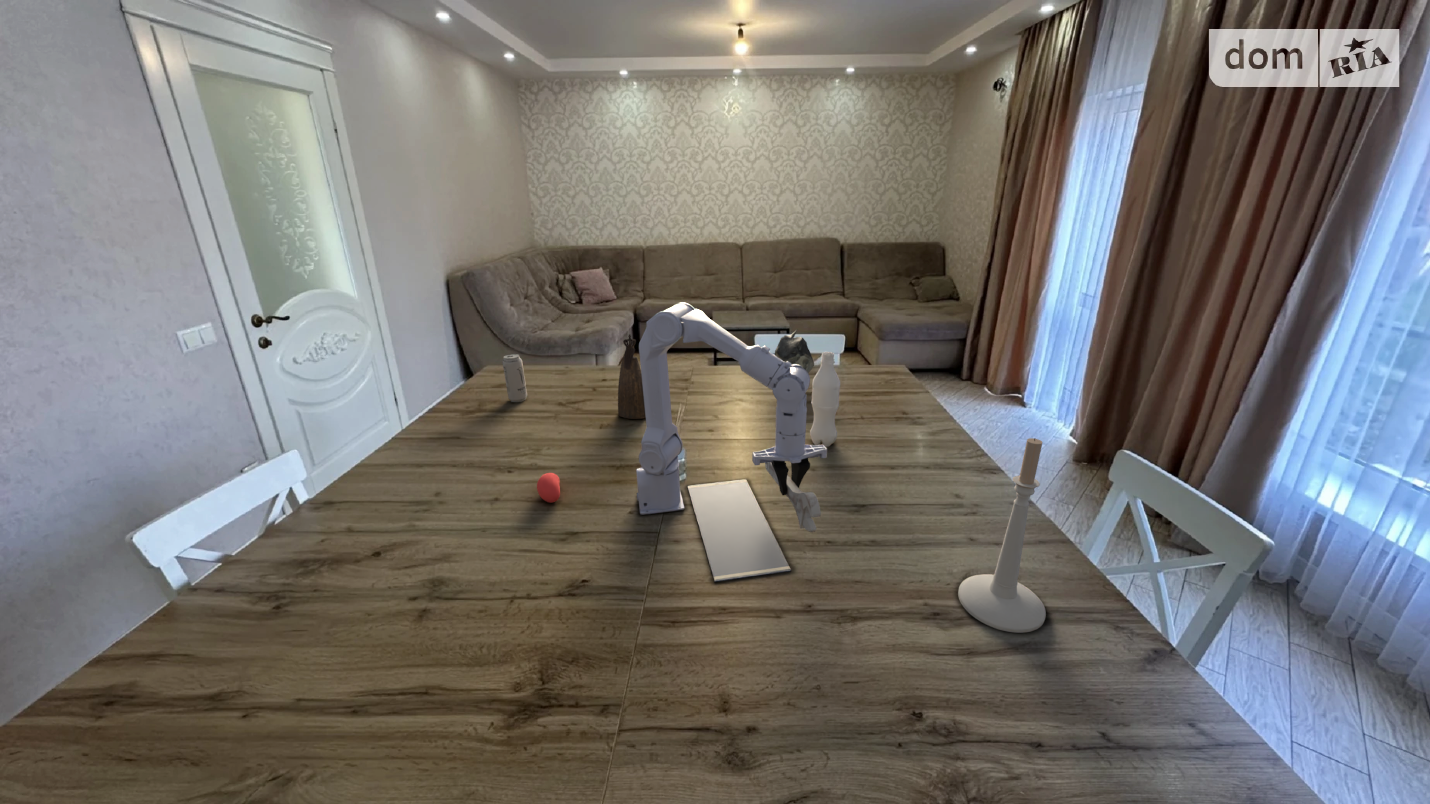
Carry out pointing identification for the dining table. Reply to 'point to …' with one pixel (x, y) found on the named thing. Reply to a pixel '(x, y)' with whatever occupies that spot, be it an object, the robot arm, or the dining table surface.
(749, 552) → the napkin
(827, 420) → the water bottle
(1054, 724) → the dining table surface
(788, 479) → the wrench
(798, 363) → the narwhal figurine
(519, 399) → the energy drink can
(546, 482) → the stress ball
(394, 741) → the dining table surface
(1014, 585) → the candlestick
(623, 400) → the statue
